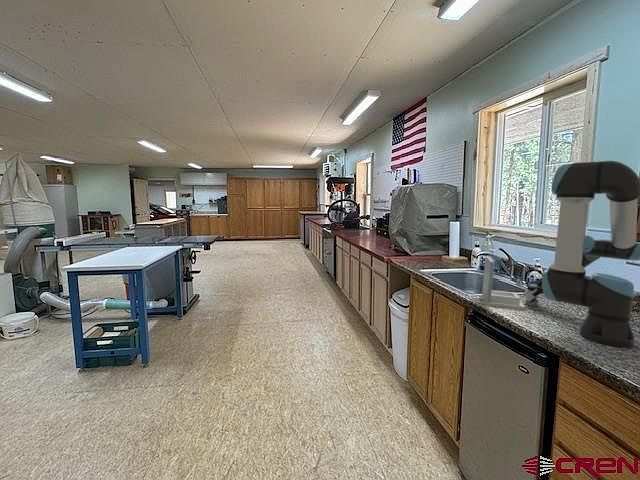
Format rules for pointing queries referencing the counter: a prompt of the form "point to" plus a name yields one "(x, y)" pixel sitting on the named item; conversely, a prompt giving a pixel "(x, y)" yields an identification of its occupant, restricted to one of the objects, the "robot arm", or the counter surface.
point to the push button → (535, 301)
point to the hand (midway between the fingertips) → (525, 297)
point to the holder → (497, 296)
